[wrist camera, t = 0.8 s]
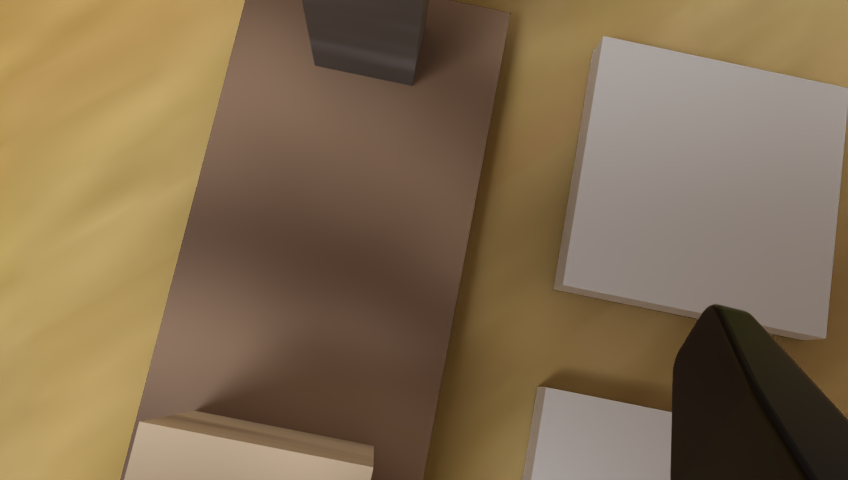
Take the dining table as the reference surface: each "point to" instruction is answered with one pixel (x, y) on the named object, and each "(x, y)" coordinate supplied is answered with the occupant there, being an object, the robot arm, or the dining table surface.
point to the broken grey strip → (689, 225)
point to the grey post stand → (332, 223)
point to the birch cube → (240, 451)
